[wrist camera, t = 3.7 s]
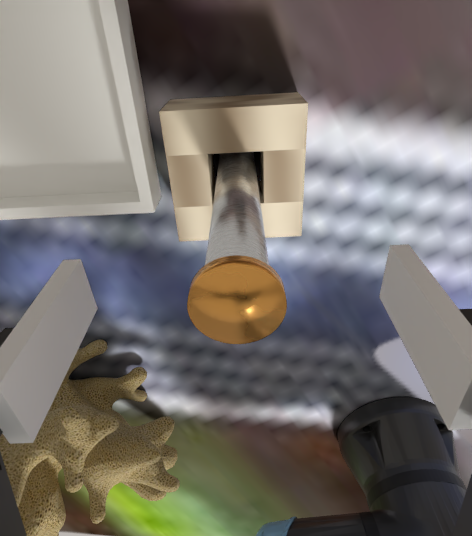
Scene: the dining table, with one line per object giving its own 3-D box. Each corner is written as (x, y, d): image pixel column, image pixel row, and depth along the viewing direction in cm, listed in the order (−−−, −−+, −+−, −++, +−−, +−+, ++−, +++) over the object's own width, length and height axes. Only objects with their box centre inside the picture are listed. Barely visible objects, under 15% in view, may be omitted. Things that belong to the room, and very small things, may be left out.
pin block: (297, 92, 29) (307, 103, 24) (293, 210, 34) (301, 235, 30) (170, 99, 29) (158, 111, 25) (186, 215, 34) (179, 241, 30)
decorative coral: (-196, 379, 30) (-67, 680, 19) (54, 245, 42) (217, 385, 31) (-40, 470, 48) (69, 647, 38) (102, 359, 60) (214, 471, 50)
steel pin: (259, 134, 30) (287, 264, 14) (260, 180, 33) (285, 342, 16) (211, 136, 30) (181, 268, 14) (215, 183, 33) (193, 345, 16)
